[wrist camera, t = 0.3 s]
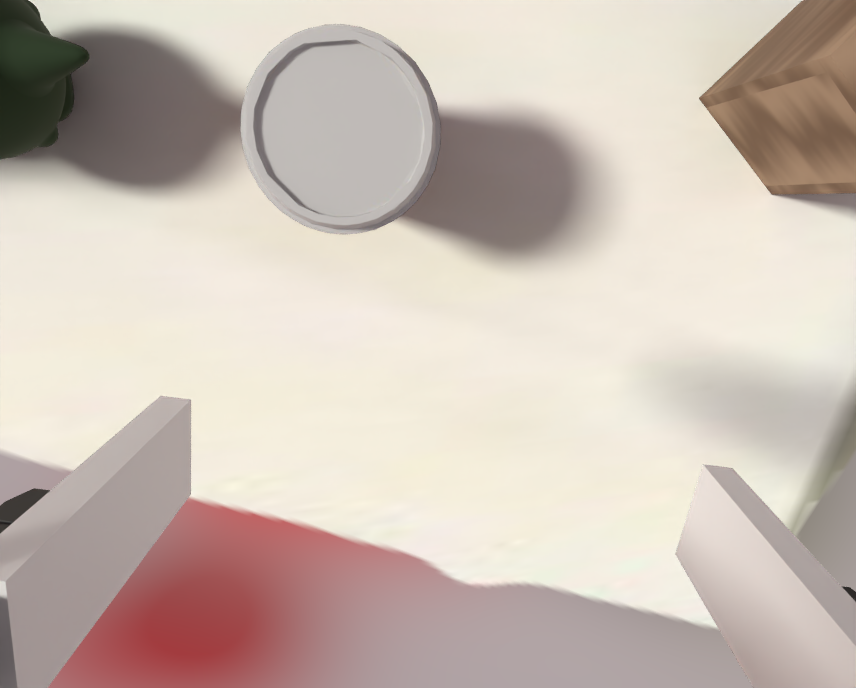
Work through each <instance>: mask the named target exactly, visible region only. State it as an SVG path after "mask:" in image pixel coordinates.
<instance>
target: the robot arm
mask: <svg viewBox="0 0 856 688" xmlns="http://www.w3.org/2000/svg"><path fill="white" fill-rule="evenodd" d="M190 495H191V400H189V399H181V398H174V397H166V396H160V397H159V398H158V399H157V400H155V401H154V402H153V403H152V404H151V405H150V406H148V407H147V408H146V409H145V410H144V411H143V412H141V413H140V414H139V415H138V416H137V417H136V418H134V419H133V420H132V421H131V422H130V423H129V424H127V425H126V426H125V427H124V428H123V429H122V430H120V431H119V432H118V433H117V434H116V435H115V436H113V437H112V438H111V439H110V440H109V441H108V442H106V443H105V444H104V445H103V446H102V447H101V448H99V449H98V450H97V451H96V452H95V453H94V454H92V455H91V456H90V457H89V458H88V459H87V460H85V461H84V462H83V463H82V464H81V465H80V466H79V467H77V468H76V469H75V470H74V471H73V472H72V473H70V474H69V475H68V476H67V477H66V478H65V479H63V481H61V482H60V483H59V484H58V485H56V486H55V487H54V488H53V489H52V490H51V491H50V490H42V489H32V490H30V491H27V492H25V493H23V494H21V495H19V496H17V497H14V498H12V499H10V500H8V501H6V502H4V503H3V504H2V505H1V506H0V688H48V687H49V685H50V684H51V682H52V681H53V680H54V678H55V677H56V676H57V674H58V673H59V672H60V670H61V669H62V668H63V666H64V665H65V664H66V662H67V661H68V660H69V658H70V657H71V655H72V654H73V653H74V651H75V650H76V649H77V647H78V646H79V645H80V643H81V642H82V640H83V639H84V638H85V637H86V635H87V633H88V632H89V631H90V630H91V628H92V627H93V626H94V624H95V623H96V621H97V620H98V619H99V618H100V616H101V615H102V614H103V612H104V611H105V609H106V608H107V607H108V605H109V604H110V603H111V601H112V600H113V599H114V597H115V596H116V595H117V593H118V592H119V591H120V589H121V588H122V587H123V585H124V584H125V582H126V581H127V580H128V578H129V577H130V576H131V574H132V573H133V572H134V570H135V569H136V568H137V566H138V565H139V564H140V562H141V561H142V559H143V558H144V557H145V555H146V554H147V552H148V551H149V550H150V549H151V547H152V546H153V545H154V543H155V542H156V541H157V539H158V538H159V536H160V535H161V533H162V532H163V531H164V530H165V528H166V527H167V526H168V524H169V523H170V522H171V520H172V519H173V517H174V516H175V515H176V513H177V512H178V511H179V509H180V508H181V507H182V505H183V504H184V503H185V501H186V500H187V499H188V497H189V496H190ZM676 556H677V558H678V560H679V561H680V563H681V565H682V566H683V568H684V570H685V572H686V573H687V575H688V577H689V578H690V580H691V582H692V584H693V585H694V587H695V589H696V591H697V592H698V594H699V596H700V597H701V599H702V601H703V603H704V604H705V606H706V608H707V609H708V611H709V613H710V615H711V616H712V618H713V620H714V621H715V623H716V625H717V627H718V628H719V630H720V632H721V633H722V635H723V636H724V638H725V640H726V642H727V644H728V645H729V647H730V649H731V650H732V652H733V654H734V656H735V657H736V659H737V661H738V663H739V664H740V666H741V668H742V669H743V671H744V673H745V675H746V676H747V678H748V680H749V681H750V683H751V685H752V687H753V688H856V592H855V591H854V590H852V589H851V588H849V587H842V586H840V584H839V583H838V582H837V581H836V580H835V579H834V578H833V577H832V576H831V575H830V573H829V572H828V571H827V570H826V569H825V568H824V567H823V566H822V565H821V564H820V563H819V562H818V560H817V559H816V558H815V557H814V556H813V555H812V554H811V553H810V552H809V551H808V550H807V549H806V547H805V546H804V545H803V544H802V543H801V542H800V541H799V540H798V539H797V538H796V537H795V536H794V534H793V533H792V532H791V531H790V530H789V529H788V528H787V527H786V526H785V525H784V524H783V523H782V521H781V520H780V519H779V518H778V517H777V516H776V515H775V514H774V513H773V512H772V511H771V510H770V508H769V507H768V506H767V505H766V504H765V503H764V502H763V501H762V500H761V499H760V498H759V497H758V495H757V494H756V493H755V492H754V491H753V490H752V489H751V488H750V487H749V486H748V485H747V484H746V482H745V481H744V480H743V479H742V478H741V477H740V476H739V475H738V474H737V473H736V472H735V471H734V469H733V468H727V467H719V466H711V465H703V466H702V469H701V472H700V476H699V479H698V482H697V485H696V489H695V492H694V495H693V498H692V502H691V505H690V508H689V511H688V515H687V518H686V521H685V524H684V528H683V531H682V534H681V537H680V541H679V544H678V547H677V550H676Z"/></svg>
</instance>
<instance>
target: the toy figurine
mask: <svg viewBox="0 0 856 688" xmlns="http://www.w3.org/2000/svg"><path fill="white" fill-rule="evenodd" d="M88 60H89V53H88V51H87V50H85V49H84V48H83V47H81V46H78V45H76V44H73V43H70V42H68V41H65V40H62V39H59V38H56V37H53V36H51V34H50V33H49V31H48V29H47V28H46V26H45V25H44V24H43V22H42V21H41V18H40V13H39V11H38V9H37V8H36V6H35V5H34V4H33V3H31V2H30V1H28V0H0V159H5V158H11V157H16V156H18V155H21V154H24V153H26V152H28V151H30V150H32V149H34V148H36V147H47V146H50V145H52V144H53V143H55V142H56V140H57V138H58V130H57V124H58V122H60V121H62V120H64V119H66V118H67V117H68V115H69V114H70V113H71V112H72V108H73V103H74V93H73V85H72V80H71V74H70V73H72V72H73V71H75V70H76V69H78V68H79V67H81V66H82V65H83V64H85V63H86V62H87V61H88Z"/></svg>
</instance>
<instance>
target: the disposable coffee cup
mask: <svg viewBox="0 0 856 688" xmlns="http://www.w3.org/2000/svg"><path fill="white" fill-rule="evenodd" d="M240 131H241V138H242V145H243V151H244V154H245V157H246V160H247V163H248V167H249V169H250V171H251V173H252V175H253V177H254V178H255V180H256V182H257V184H258V186H259V187H260V189H261V190H262V191H263V193H264V194H265V195H266V196H267V198H268V199H269V200H270V201H271V202H272V203H273V204H274V205H275V206H276V207H277V208H278V209H279V210H280V211H282V212H283V213H284V214H286V215H287V216H289V217H290V218H292V219H293V220H295V221H297V222H299V223H301V224H302V225H304V226H306V227H309V228H312V229H315V230H318V231H322V232H327V233H334V234H355V233H363V232H367V231H371V230H375V229H377V228H379V227H382V226H384V225H386V224H388V223H390V222H392V221H394V220H395V219H397V218H398V217H399V216H401V215H402V214H404V213H405V212H406V211H407V210H408V209H409V208H410V207H411V206H412V205H413V204H414V203H415V202H416V201H417V200H418V199H419V197H420V196H421V194H422V193H423V191H424V190H425V188H426V187H427V185H428V183H429V181H430V179H431V177H432V174H433V172H434V170H435V168H436V163H437V158H438V154H439V149H440V144H441V141H440V118H439V113H438V107H437V102H436V100H435V98H434V95H433V93H432V90H431V88H430V85H429V83H428V81H427V79H426V78H425V76H424V75H423V73H422V72H421V70H420V69H419V67H418V65H417V64H416V62H415V61H414V60H413V59H412V58H410V57H409V56H408V55H407V54H406V53H405V52H404V51H403V50H402V49H401V48H400V47H399V46H398V45H396V44H395V43H393V42H392V41H390V40H388V39H387V38H385V37H384V36H382V35H380V34H378V33H375V32H373V31H370V30H367V29H365V28H362V27H357V26H350V25H344V24H333V25H322V26H317V27H313V28H308V29H305V30H303V31H300V32H298V33H295V34H294V35H292V36H290V37H289V38H287V39H285V40H283V41H282V42H281V43H280V44H279V45H277V46H276V47H275V48H274V49H272V50H271V51H270V52H269V53H268V54H267V56H266V57H265V58H264V59H263V61H262V62H261V63H260V65H259V66H258V67H257V68H256V70H255V72H254V74H253V76H252V78H251V80H250V82H249V84H248V86H247V89H246V93H245V97H244V101H243V105H242V109H241V128H240Z"/></svg>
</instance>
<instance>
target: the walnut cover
mask: <svg viewBox="0 0 856 688" xmlns="http://www.w3.org/2000/svg"><path fill="white" fill-rule="evenodd" d="M699 99H700V100H701V102H702V103H703V104H704V106H705V107H706V108H707V110H708V111H709V112H710V114H711V115H712V116H713V117H714V119H715V120H716V121H717V123H718V124H719V125H720V127H721V128H722V129H723V131H724V132H725V133H726V135H727V136H728V137H729V139H730V140H731V141H732V143H733V144H734V145H735V147H736V148H737V149H738V151H739V152H740V153H741V154H742V156H743V157H744V158H745V160H746V161H747V162H748V164H749V165H750V166H751V168H752V169H753V170H754V172H755V173H756V174H757V176H758V177H759V178H760V180H761V181H762V182H763V184H764V185H765V186H766V188H767V189H768V190H769V191H770V193H771V194H828V193H856V0H804V1H802V2H800V3H799V4H798V5H797V6H796V7H795V8H794V9H793V10H792V11H791V12H790V13H789V14H788V15H787V16H786V17H785V18H783V19H782V20H781V21H780V22H779V23H778V24H777V25H776V26H775V27H774V28H773V29H772V30H771V31H770V32H769V33H768V34H767V35H766V36H764V37H763V38H762V39H761V40H760V41H759V42H758V43H757V44H756V45H755V46H754V47H753V48H752V49H751V50H750V51H749V52H748V53H746V54H745V55H744V56H743V57H742V58H741V59H740V60H739V61H738V62H737V63H736V64H735V65H734V66H733V67H732V68H731V69H730V70H729V71H727V72H726V73H725V74H724V75H723V76H722V77H721V78H720V79H719V80H718V81H717V82H716V83H715V84H714V85H713V86H712V87H711V88H709V89H708V90H707V91H706V92H705V93H704V94H703V95H702V96H701V97H700V98H699Z"/></svg>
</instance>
